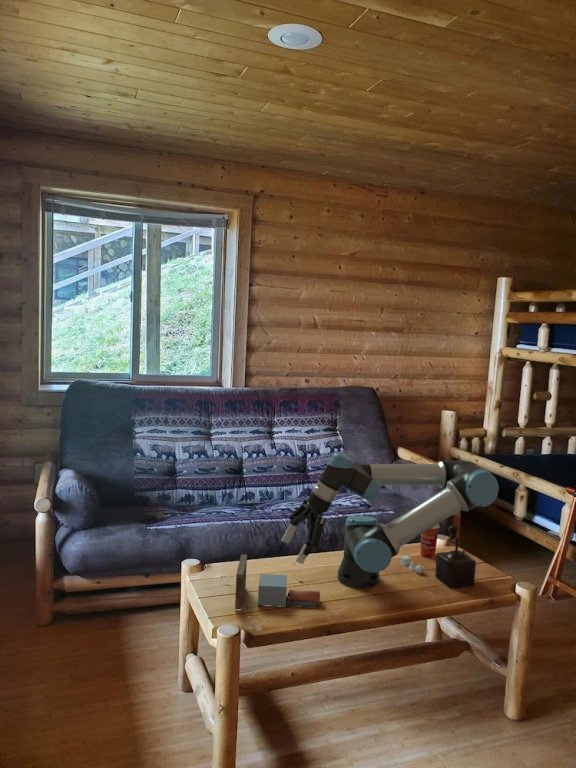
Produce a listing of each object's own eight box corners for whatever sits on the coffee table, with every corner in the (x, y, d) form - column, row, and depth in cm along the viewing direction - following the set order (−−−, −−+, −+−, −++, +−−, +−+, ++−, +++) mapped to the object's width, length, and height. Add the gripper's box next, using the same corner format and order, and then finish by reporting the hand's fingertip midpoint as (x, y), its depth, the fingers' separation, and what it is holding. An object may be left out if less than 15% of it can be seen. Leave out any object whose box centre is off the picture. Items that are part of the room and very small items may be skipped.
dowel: (318, 600, 196) (319, 589, 196) (319, 606, 192) (320, 594, 192) (288, 599, 196) (289, 587, 196) (288, 604, 192) (289, 593, 192)
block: (286, 594, 199) (287, 575, 198) (285, 607, 190) (286, 587, 189) (259, 593, 199) (260, 573, 198) (257, 605, 190) (258, 585, 189)
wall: (245, 588, 202) (247, 554, 201) (241, 610, 186) (242, 574, 185) (239, 588, 202) (241, 554, 201) (234, 610, 186) (236, 574, 185)
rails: (315, 598, 197) (316, 593, 197) (316, 607, 191) (316, 603, 191) (287, 596, 198) (287, 592, 197) (287, 606, 191) (287, 601, 191)
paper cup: (414, 555, 239) (416, 521, 238) (423, 550, 245) (425, 517, 243) (432, 560, 234) (434, 526, 233) (440, 555, 240) (443, 522, 238)
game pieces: (399, 564, 230) (399, 556, 230) (406, 563, 232) (406, 555, 231) (418, 576, 220) (419, 567, 219) (425, 574, 221) (426, 566, 221)
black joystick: (476, 586, 213) (480, 538, 211) (450, 589, 209) (454, 540, 208) (451, 568, 228) (455, 523, 226) (426, 571, 224) (430, 525, 222)
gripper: (299, 478, 205) (270, 530, 206) (329, 509, 183) (296, 568, 184) (316, 485, 208) (287, 537, 209) (347, 517, 186) (315, 574, 187)
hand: (291, 551), depth 197 cm, fingers open, 13 cm apart
